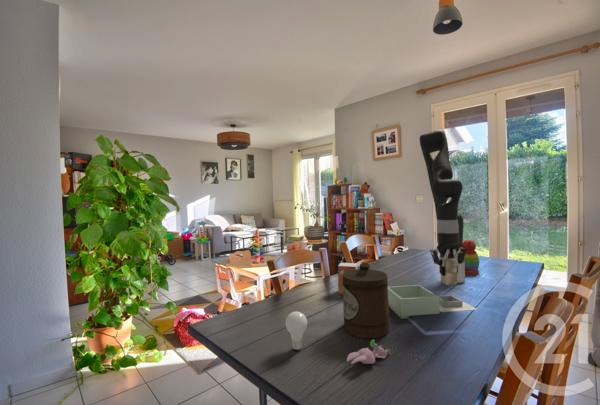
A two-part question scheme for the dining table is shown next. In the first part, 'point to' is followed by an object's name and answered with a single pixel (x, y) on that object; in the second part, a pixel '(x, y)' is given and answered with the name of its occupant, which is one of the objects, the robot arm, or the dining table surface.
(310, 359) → the dining table surface
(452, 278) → the strut
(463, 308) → the socket
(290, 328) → the lightbulb
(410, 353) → the dining table surface
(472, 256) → the stacking bear
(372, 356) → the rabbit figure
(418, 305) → the bin
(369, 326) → the wooden container
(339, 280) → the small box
